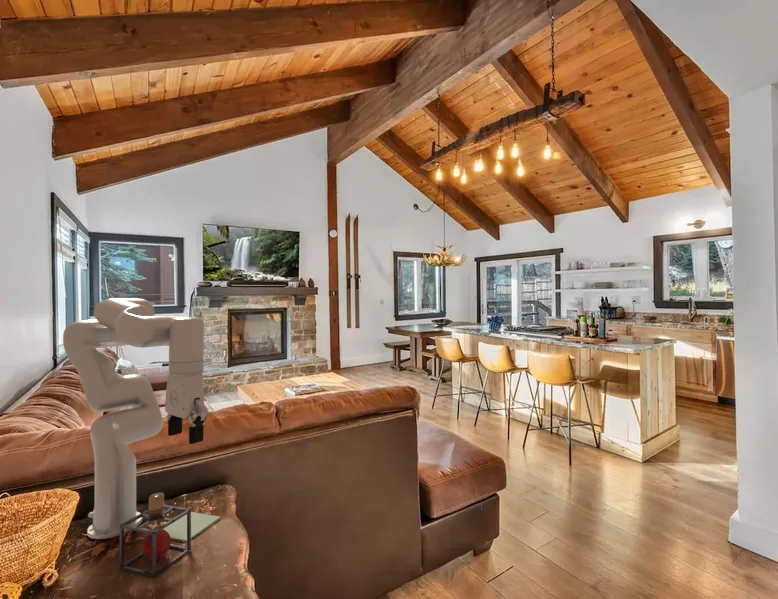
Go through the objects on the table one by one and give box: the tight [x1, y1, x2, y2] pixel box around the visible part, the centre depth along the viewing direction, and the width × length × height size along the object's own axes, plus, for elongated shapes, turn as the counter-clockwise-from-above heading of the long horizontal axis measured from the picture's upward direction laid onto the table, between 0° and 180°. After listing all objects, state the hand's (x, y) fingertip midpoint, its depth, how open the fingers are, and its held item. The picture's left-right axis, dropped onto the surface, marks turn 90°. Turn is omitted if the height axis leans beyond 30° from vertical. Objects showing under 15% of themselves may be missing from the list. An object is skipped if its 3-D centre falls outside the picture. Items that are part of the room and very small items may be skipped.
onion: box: [141, 524, 172, 561], centre depth 93 cm, size 6×6×8 cm
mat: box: [164, 511, 221, 543], centre depth 107 cm, size 12×12×1 cm
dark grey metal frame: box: [119, 492, 192, 579], centre depth 93 cm, size 10×10×15 cm
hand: (185, 438), depth 94 cm, fingers open, 9 cm apart
